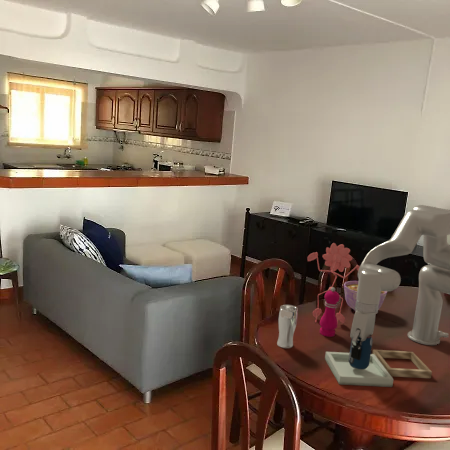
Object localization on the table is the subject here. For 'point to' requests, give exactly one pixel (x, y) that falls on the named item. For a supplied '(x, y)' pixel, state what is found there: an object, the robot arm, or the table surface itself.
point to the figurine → (336, 260)
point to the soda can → (362, 354)
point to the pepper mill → (329, 314)
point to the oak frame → (398, 372)
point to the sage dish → (358, 371)
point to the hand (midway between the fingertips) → (359, 354)
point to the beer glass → (287, 325)
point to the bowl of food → (351, 294)
